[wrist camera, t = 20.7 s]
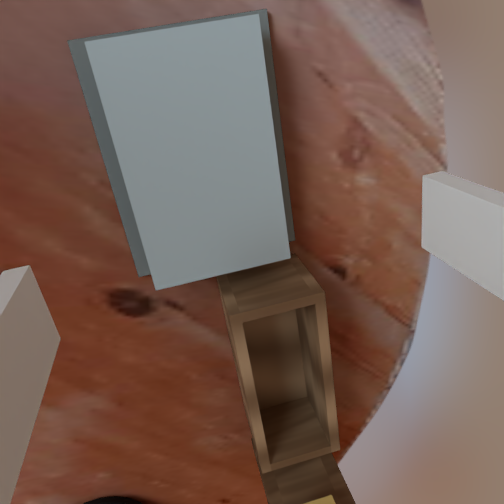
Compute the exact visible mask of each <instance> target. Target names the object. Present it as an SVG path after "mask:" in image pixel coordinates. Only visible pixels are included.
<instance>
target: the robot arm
mask: <svg viewBox="0 0 504 504" xmlns="http://www.w3.org/2000/svg"><path fill="white" fill-rule="evenodd" d="M421 247H422V248H424V249H425V250H427V251H428V252H430V253H431V254H433V255H434V256H436V257H437V258H439V259H441V260H442V261H443V262H445V263H446V264H448V265H450V266H451V267H453V268H454V269H456V270H457V271H459V272H460V273H462V274H463V275H465V276H467V277H468V278H469V279H471V280H472V281H474V282H475V283H477V284H479V285H480V286H482V287H483V288H485V289H486V290H488V291H489V292H491V293H492V294H494V295H495V296H497V297H498V298H500V299H501V300H503V301H504V193H503V192H500V191H497V190H495V189H492V188H489V187H486V186H483V185H481V184H478V183H475V182H472V181H469V180H466V179H463V178H461V177H458V176H455V175H452V174H450V173H447V172H444V171H441V172H436V173H432V174H427V175H423V183H422V246H421ZM60 339H61V338H60V336H59V333H58V331H57V329H56V326H55V324H54V321H53V319H52V317H51V314H50V312H49V310H48V307H47V305H46V302H45V300H44V298H43V295H42V293H41V291H40V288H39V286H38V284H37V281H36V279H35V276H34V274H33V272H32V269H31V267H30V265H27V266H23V267H19V268H14V269H10V270H5V271H3V272H2V274H1V275H0V504H10V503H11V500H12V496H13V493H14V490H15V486H16V483H17V480H18V477H19V473H20V470H21V467H22V464H23V460H24V457H25V454H26V450H27V447H28V444H29V441H30V437H31V434H32V431H33V427H34V424H35V421H36V418H37V414H38V411H39V408H40V405H41V401H42V398H43V395H44V391H45V388H46V385H47V382H48V378H49V375H50V372H51V369H52V365H53V362H54V359H55V355H56V352H57V349H58V346H59V342H60Z"/></svg>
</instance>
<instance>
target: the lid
mask: <svg viewBox="0 0 504 504" xmlns="http://www.w3.org/2000/svg"><path fill="white" fill-rule="evenodd" d="M84 43H85V46H86V50H87V53H88V57H89V60H90V64H91V67H92V70H93V74H94V77H95V81H96V84H97V88H98V91H99V95H100V98H101V102H102V105H103V109H104V112H105V116H106V119H107V123H108V126H109V130H110V133H111V136H112V140H113V143H114V147H115V150H116V154H117V157H118V161H119V164H120V168H121V171H122V175H123V178H124V182H125V185H126V189H127V192H128V195H129V199H130V202H131V206H132V209H133V213H134V216H135V220H136V223H137V227H138V230H139V234H140V237H141V241H142V244H143V248H144V251H145V255H146V258H147V261H148V265H149V268H150V272H151V275H152V279H153V282H154V286H155V289H156V290H160V289H164V288H169V287H173V286H177V285H181V284H185V283H189V282H194V281H198V280H202V279H206V278H210V277H214V276H219V275H223V274H227V273H231V272H235V271H239V270H244V269H248V268H252V267H256V266H260V265H264V264H269V263H273V262H277V261H281V260H285V259H289V258H291V256H290V249H289V241H288V233H287V226H286V218H285V210H284V203H283V195H282V188H281V180H280V172H279V165H278V157H277V149H276V142H275V134H274V126H273V119H272V111H271V103H270V96H269V88H268V80H267V73H266V65H265V58H264V50H263V42H262V35H261V27H260V19H259V14H254V15H248V16H242V17H236V18H229V19H223V20H217V21H211V22H204V23H198V24H192V25H186V26H180V27H173V28H167V29H161V30H155V31H148V32H142V33H136V34H130V35H124V36H117V37H111V38H105V39H99V40H92V41H86V42H84Z"/></svg>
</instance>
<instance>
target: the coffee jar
mask: <svg viewBox="0 0 504 504" xmlns="http://www.w3.org/2000/svg"><path fill="white" fill-rule="evenodd" d="M84 504H142V503H141V502H138V501H136V500H133V499H131V498H125V497H116V496H114V497H104V498H98V499H95V500H92V501H89V502H86V503H84Z"/></svg>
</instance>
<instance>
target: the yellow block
mask: <svg viewBox="0 0 504 504" xmlns="http://www.w3.org/2000/svg"><path fill="white" fill-rule="evenodd" d="M304 504H336V503H335V501H334V499H333V496H332V495H329V496H326V497H323V498H320V499H317V500H314V501H310V502H307V503H304Z"/></svg>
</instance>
